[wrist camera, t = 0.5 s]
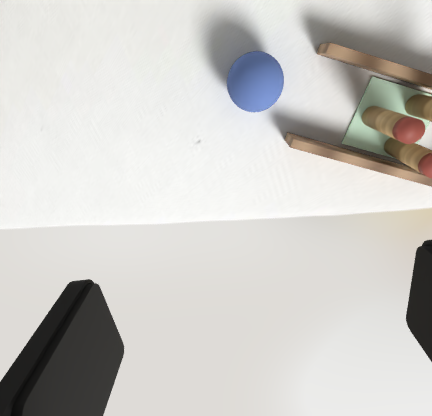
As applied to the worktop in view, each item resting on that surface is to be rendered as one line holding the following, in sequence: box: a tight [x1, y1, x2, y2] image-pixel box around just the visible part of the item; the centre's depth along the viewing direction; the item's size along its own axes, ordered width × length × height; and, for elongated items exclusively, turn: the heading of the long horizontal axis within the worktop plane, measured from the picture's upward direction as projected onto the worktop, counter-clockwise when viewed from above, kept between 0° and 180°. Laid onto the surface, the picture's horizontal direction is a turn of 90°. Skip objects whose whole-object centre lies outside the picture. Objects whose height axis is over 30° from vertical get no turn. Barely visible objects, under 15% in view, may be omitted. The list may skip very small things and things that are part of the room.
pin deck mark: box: [342, 76, 432, 159], centre depth 37 cm, size 9×8×1 cm
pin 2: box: [384, 137, 432, 179], centre depth 34 cm, size 2×2×9 cm
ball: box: [227, 51, 284, 112], centre depth 32 cm, size 6×6×6 cm
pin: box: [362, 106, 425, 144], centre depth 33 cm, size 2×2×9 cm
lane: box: [285, 43, 432, 186], centre depth 35 cm, size 22×11×4 cm, turn 75°
